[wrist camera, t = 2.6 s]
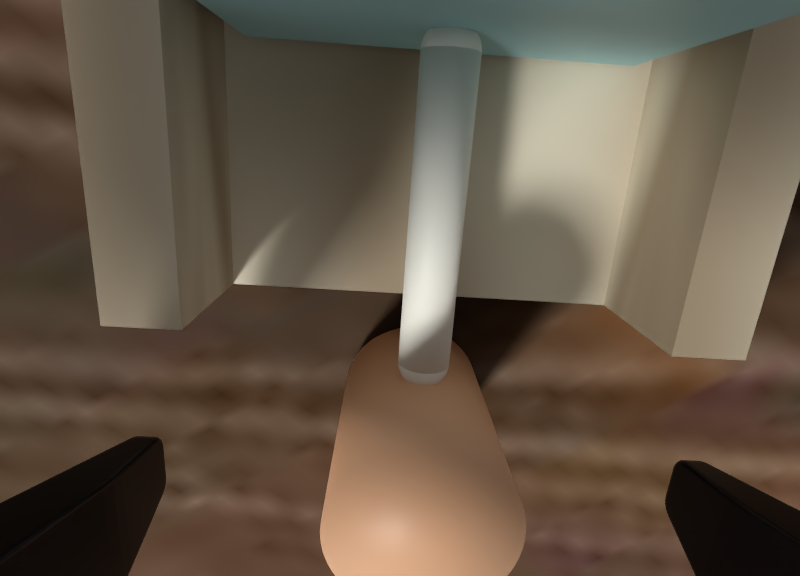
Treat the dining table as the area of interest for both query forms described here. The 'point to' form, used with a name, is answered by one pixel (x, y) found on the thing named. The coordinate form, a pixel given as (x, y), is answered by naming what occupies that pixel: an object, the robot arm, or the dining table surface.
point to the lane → (392, 167)
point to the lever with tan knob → (452, 268)
